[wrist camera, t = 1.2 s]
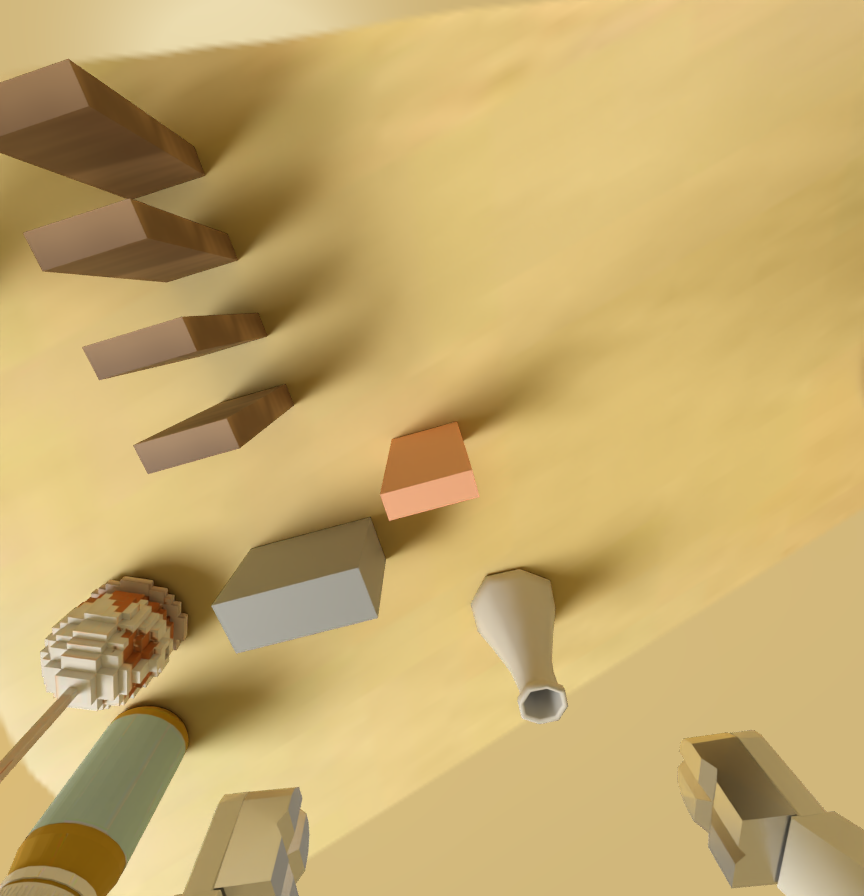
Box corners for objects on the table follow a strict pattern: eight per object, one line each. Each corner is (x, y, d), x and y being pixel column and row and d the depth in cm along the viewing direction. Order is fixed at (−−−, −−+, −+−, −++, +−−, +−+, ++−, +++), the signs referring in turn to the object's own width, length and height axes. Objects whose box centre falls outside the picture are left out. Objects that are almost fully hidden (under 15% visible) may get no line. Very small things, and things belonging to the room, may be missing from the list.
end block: (370, 516, 35) (358, 567, 28) (385, 559, 36) (377, 617, 29) (250, 548, 35) (211, 605, 29) (269, 589, 36) (236, 653, 30)
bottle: (99, 733, 41) (-74, 963, 26) (141, 689, 39) (-18, 908, 25) (164, 769, 42) (34, 1005, 28) (207, 728, 41) (93, 955, 27)
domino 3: (189, 333, 30) (82, 347, 21) (258, 312, 30) (181, 316, 20) (199, 356, 30) (99, 380, 21) (267, 336, 30) (196, 351, 21)
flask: (561, 569, 37) (611, 662, 27) (547, 640, 39) (588, 749, 29) (475, 564, 36) (494, 657, 27) (465, 636, 38) (480, 745, 29)
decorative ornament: (189, 656, 38) (51, 865, 24) (95, 644, 38) (-102, 850, 23) (192, 581, 36) (42, 762, 22) (93, 566, 35) (-128, 742, 21)
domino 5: (391, 439, 33) (380, 494, 23) (457, 421, 32) (472, 469, 23) (398, 458, 33) (389, 520, 24) (462, 441, 33) (479, 497, 23)
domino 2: (155, 256, 28) (22, 232, 19) (227, 234, 28) (129, 198, 19) (166, 282, 29) (42, 271, 19) (237, 260, 29) (147, 238, 19)
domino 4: (219, 402, 32) (133, 445, 22) (285, 383, 31) (226, 418, 22) (229, 423, 32) (147, 474, 22) (294, 405, 32) (239, 448, 22)
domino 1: (118, 171, 27) (-47, 99, 17) (193, 146, 27) (68, 58, 17) (130, 199, 27) (-24, 144, 18) (205, 175, 27) (88, 105, 18)
